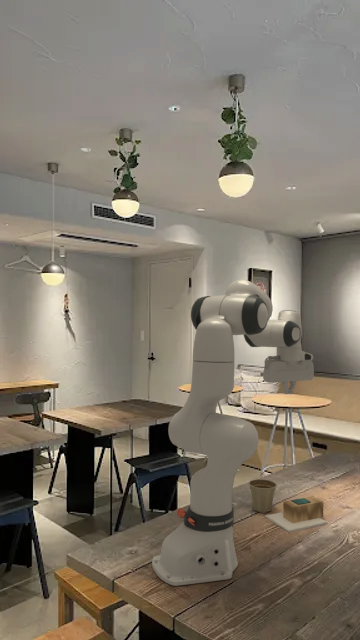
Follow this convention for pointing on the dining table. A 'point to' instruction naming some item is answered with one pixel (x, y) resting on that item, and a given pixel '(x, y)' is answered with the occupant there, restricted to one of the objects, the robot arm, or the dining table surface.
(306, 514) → the oak block
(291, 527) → the white board
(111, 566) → the dining table surface
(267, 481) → the flower pot
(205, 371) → the robot arm
